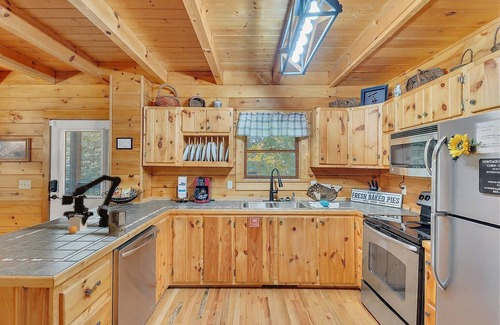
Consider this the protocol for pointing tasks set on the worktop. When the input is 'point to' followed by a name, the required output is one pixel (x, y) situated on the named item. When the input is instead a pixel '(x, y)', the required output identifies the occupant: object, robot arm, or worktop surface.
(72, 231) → the ball
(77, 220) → the beige cardboard box
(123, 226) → the coffee box
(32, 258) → the worktop surface
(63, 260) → the worktop surface
